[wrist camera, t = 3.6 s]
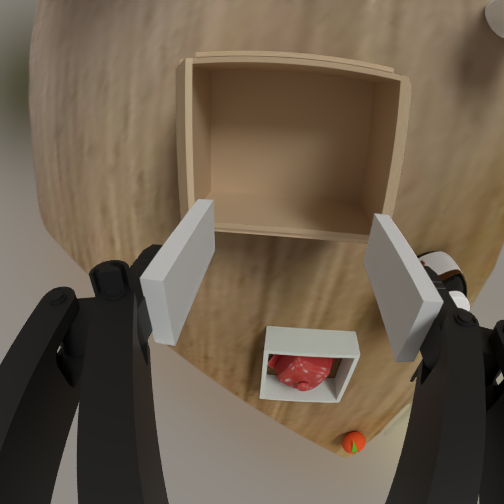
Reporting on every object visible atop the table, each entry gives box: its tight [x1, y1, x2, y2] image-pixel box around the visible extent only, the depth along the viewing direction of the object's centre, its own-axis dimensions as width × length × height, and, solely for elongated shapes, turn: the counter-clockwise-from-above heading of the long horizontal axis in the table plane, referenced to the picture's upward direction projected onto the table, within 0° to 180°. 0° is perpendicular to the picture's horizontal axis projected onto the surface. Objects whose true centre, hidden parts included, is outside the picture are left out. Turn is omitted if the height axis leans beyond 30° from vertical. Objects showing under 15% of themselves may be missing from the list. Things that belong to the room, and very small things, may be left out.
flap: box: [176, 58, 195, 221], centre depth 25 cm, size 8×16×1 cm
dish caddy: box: [260, 326, 360, 402], centre depth 55 cm, size 17×16×6 cm
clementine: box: [342, 432, 366, 453], centre depth 70 cm, size 8×7×7 cm
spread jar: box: [417, 251, 470, 311], centre depth 41 cm, size 12×11×12 cm
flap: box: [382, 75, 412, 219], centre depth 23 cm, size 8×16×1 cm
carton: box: [180, 51, 409, 244], centre depth 32 cm, size 22×19×11 cm
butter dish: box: [267, 354, 338, 391], centre depth 54 cm, size 12×12×8 cm
